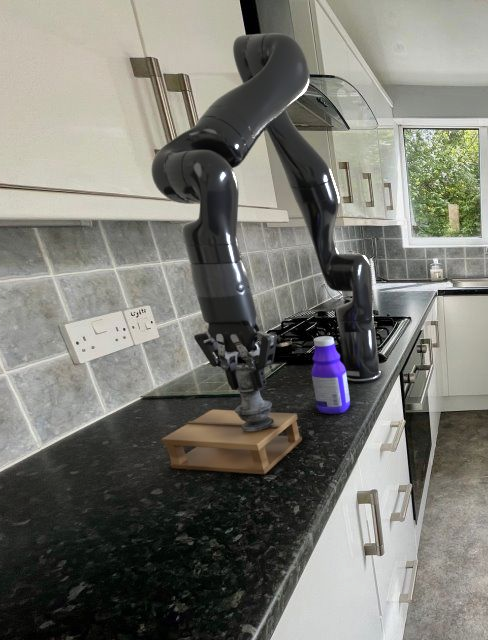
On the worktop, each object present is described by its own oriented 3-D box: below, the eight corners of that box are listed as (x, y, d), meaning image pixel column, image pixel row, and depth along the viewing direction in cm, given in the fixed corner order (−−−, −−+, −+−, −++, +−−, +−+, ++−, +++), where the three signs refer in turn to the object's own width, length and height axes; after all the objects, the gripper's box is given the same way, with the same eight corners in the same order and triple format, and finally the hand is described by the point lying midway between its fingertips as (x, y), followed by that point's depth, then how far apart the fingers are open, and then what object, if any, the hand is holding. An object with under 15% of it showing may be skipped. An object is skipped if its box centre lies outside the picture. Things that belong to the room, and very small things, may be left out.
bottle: (355, 405, 98) (344, 335, 91) (344, 416, 92) (332, 342, 86) (326, 404, 98) (313, 334, 92) (314, 414, 93) (300, 341, 87)
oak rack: (220, 435, 84) (212, 407, 82) (302, 440, 83) (296, 412, 80) (171, 468, 73) (160, 437, 71) (264, 474, 71) (256, 443, 69)
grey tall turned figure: (260, 433, 72) (244, 369, 67) (231, 430, 73) (214, 367, 68) (282, 418, 77) (269, 358, 73) (255, 415, 78) (240, 356, 74)
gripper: (279, 288, 69) (298, 382, 75) (202, 286, 70) (227, 379, 77) (249, 295, 62) (273, 399, 68) (164, 294, 63) (195, 395, 70)
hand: (248, 388), depth 72 cm, fingers closed on grey tall turned figure, 3 cm apart
